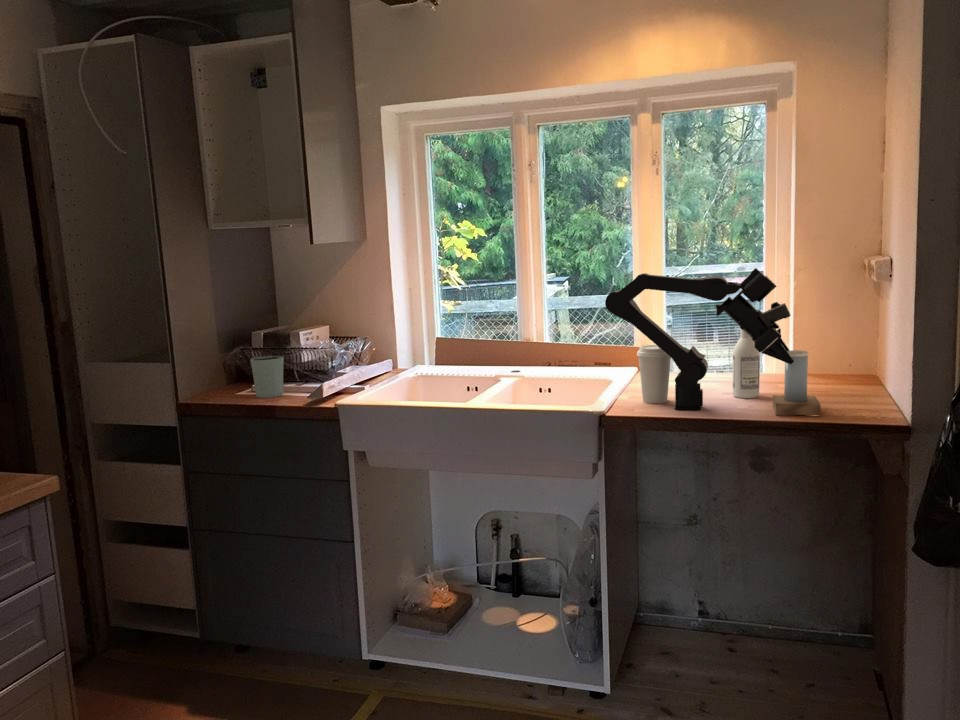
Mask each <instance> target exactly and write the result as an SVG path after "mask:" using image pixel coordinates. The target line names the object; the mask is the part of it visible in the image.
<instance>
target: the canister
mask: <svg viewBox="0 0 960 720" xmlns="http://www.w3.org/2000/svg"><path fill="white" fill-rule="evenodd" d="M787 352H788V353H789V355H790V356H791V358H792V359H793V360H794V362H793V363H792V364H788V363H786V362H784V393H783V394H784V400H786V401H791V402H804V401H807V396H808V370H809V369H808V362H809V361H808V357H809V351H807V350H790V351H787Z"/></svg>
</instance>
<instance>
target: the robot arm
mask: <svg viewBox="0 0 960 720" xmlns="http://www.w3.org/2000/svg"><path fill="white" fill-rule="evenodd" d="M776 288H777V285H776V284H775V283H774V281H773V280H772V279H770V278H769V277H768V275H765V274H764V273H763V272H761V271H760V270H759V269H758V268H757V267H756V268H754V269H753V270H752V271H751V273H750V274H748V276H746V277H745V279H744V280H742V281H741V283H740V282H737V281H736V282H731V281H728V280H727V279H726V278H725V277H723V276H722V277H721V276H711V277H698V278H687V277H677V276H665V275H657V274H656V275H655V274H649V273H645V272H644V273H641V274H639V275H637V276H636V277H635V278H634V279H633V280H632V281H631V282H629V283H628V284H627V285H625V286H624V287H623V288H622V289H619V290H616V291H613V292H611V293H609V294H608V295H607V297H606V298H605V302H604V303H605V309H607V312H609V313H610V314H612V315H614V316H616V317H618V318H620V319H621V320H624V321H626V322H627V323H630V324H631V325H632V326H634V327H635V328H636V329H637V330H638V331H640V332H641V333H642V335H644V336H645V337H646V338H648V339H649V340H650V341H651V342H652V343H653V344H654V345H657V346H658V347H659V348H661V349H662V350H663V351H664V352H665V353H666V354H668V355H669V356H670V357H671V360H672V361H673V363H675V365H676V366H677V368H678V370H679V371H680V372H678V374H677V375H676V377H675V378H674V382H675V386H674V387H675V388H674V390H675V391H674V395H675V396H674V399H675V404H674V410H676V411H677V410H680V411H681V410H683V411H686V410H687V411H690V410H691V411H700V410H701V409H702V407H703V406H704V404H703V403H704V402H703V401H704V389H703V388H701V383H699V381H701V380H702V379H703V378H705V376H706V374H707V372H708V369H709V364H708V361H707V359H706V358H705V357H706V354H702V353H701V352H700V351H699V350H698V349H697V348H696V347H695V346H694V345H692V346H691V348H690V349H689V348H687V347H684V346H683V345H682V344H680V343H679V342H678V341H677V340H675V339H674V338H673V337H672V335H670V334H669V333H668V332H666V331H665V330H664V329H663V328H661V326H659V325H658V324H657V323H656V322H655V321H654V320H652V319H651V318H650V317H649V316H647V315H646V314H645V313H644V312H643V311H642V310H641V309H640V307H639V305H638V304H637V303H636V301H635V300H634V299H635V298H636V297H638V295H640V294H641V293H642V292H643V291H645V290H651V291H663V292H672V293H682V294H690V295H694V296H696V297H700V298H703V299H706V300H710V301H713V302H720V301H722V300H724V299H725V298H726V297H727V296H728V297H727V298H726V299H725V300H724V301H723V302H722V303H720V304H718V303H717V304H716V305H715V308H716V311H715V315H716V316H717V317H719V316H720V315H721V314H722V313H723V312H724V313H725V314H726V315H727V316H729V318H730V319H731V320H732V321H734V322H735V323H736V324H737V325H738V326H739V329H740V330H741V329H742V330H744V331H745V332H746V333H747V334H748V335H749V336H750V337H751V338H752V340H753V341H754V342H755V346H754V347H755V348H756V349H757V350H758V351H759V353H761V354H763V355H766V356H768V357H771V358H774V359H776V360H779V361H782V362H784V363H785V362H786V363H788V364H792V363H793V362H794V360H793V359H792V358H791V356H790V355H789V353H788V352H787V351H791V350H790V349H789V347H788V346H787V345H786V343H785V341H784V340H783V338H782V334H781V333H782V332H781V331H782V330H781V327H780V325H779V324H778V323H777V322H778V321H781V320H783V319H787V318H789V317H791V312H790V310H789V308H788V306H787V304H786V303H785V302H784V303H781V304H780V303H779V302H777V301H775V302H773V303H771V304H770V309H767V310H766V311H764V312H763V311H761V310H760V309H757V308H756V307H754V306H753V304H751V303H754V302H756V301H757V302H758V303H760V302H761V301H763V300H764V299H765V298H766V297H767V296H768V295H770V293H772V292H773V290H775V289H776ZM740 289H741V291H740V292H739V293H738V291H739V290H740ZM736 293H738V294H737V295H735V296H734V298H732V297H730V296H729V295H733V294H736ZM743 295H744V296H745V297H746V298H747V299H748V300H749V301H750V302H751V303H750V302H749V301H748V300H747V299H746V298H745V297H744V296H743Z"/></svg>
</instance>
